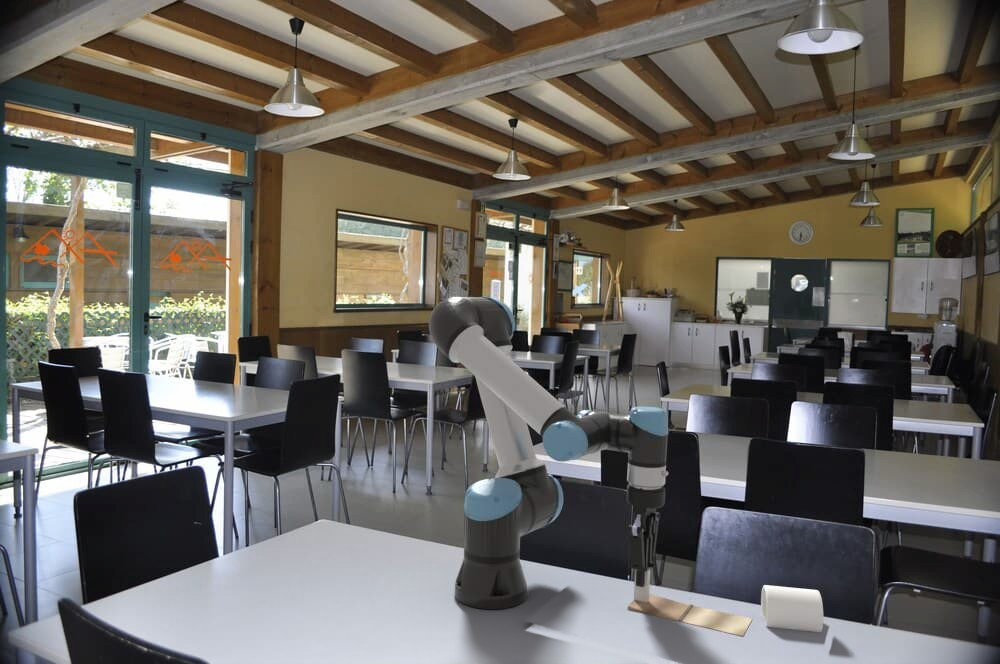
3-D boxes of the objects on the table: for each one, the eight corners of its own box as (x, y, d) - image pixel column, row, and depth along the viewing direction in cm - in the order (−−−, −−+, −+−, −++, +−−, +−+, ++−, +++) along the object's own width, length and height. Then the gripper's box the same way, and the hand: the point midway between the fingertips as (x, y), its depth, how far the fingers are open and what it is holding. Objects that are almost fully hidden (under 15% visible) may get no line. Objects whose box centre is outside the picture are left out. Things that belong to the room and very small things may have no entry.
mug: (822, 642, 139) (824, 600, 138) (766, 636, 141) (767, 594, 140) (809, 615, 151) (811, 576, 150) (757, 609, 153) (759, 571, 152)
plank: (627, 612, 148) (627, 606, 148) (641, 597, 156) (641, 591, 156) (676, 626, 143) (677, 620, 143) (689, 610, 151) (689, 605, 151)
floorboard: (678, 627, 143) (678, 619, 143) (690, 611, 151) (690, 604, 151) (742, 643, 137) (742, 635, 137) (751, 625, 145) (752, 618, 145)
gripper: (654, 495, 142) (649, 616, 144) (674, 480, 154) (669, 593, 155) (616, 488, 146) (612, 607, 147) (638, 475, 157) (634, 585, 159)
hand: (641, 599), depth 151 cm, fingers closed
